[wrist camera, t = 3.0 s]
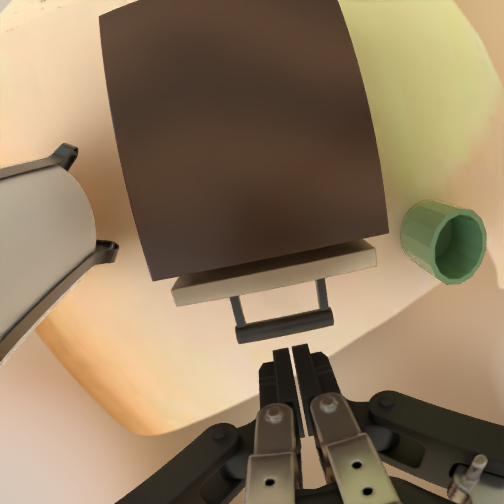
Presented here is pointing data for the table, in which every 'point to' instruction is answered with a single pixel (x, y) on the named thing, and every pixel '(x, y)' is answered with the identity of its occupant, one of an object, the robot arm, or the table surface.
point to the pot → (444, 240)
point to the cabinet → (240, 130)
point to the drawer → (276, 286)
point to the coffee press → (42, 242)
